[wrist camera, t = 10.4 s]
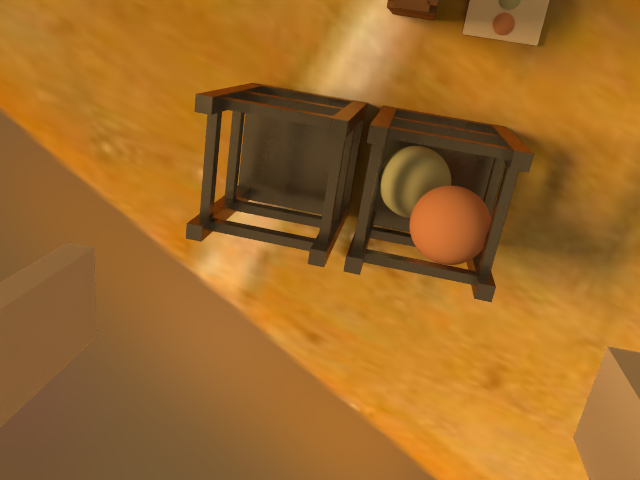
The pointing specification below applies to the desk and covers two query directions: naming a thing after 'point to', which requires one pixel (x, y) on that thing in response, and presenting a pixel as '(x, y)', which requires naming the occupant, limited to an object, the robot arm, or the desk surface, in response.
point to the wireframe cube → (280, 164)
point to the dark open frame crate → (466, 171)
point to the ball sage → (411, 177)
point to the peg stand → (414, 8)
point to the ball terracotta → (450, 225)
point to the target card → (506, 20)
